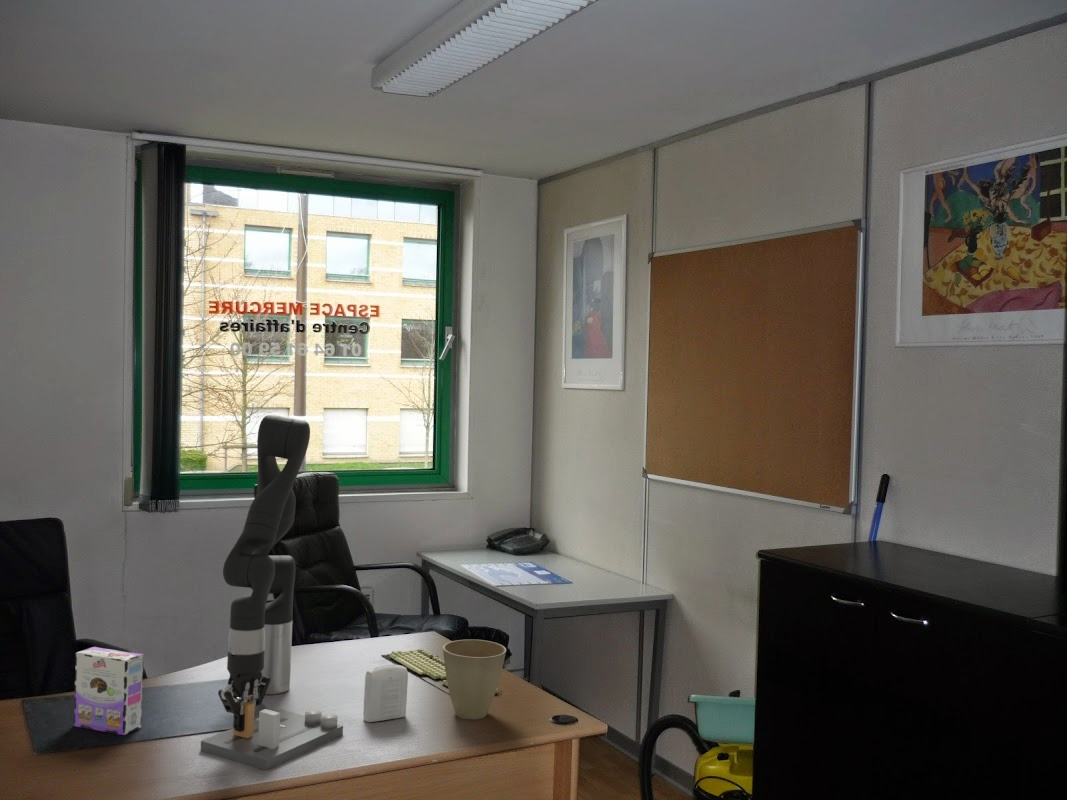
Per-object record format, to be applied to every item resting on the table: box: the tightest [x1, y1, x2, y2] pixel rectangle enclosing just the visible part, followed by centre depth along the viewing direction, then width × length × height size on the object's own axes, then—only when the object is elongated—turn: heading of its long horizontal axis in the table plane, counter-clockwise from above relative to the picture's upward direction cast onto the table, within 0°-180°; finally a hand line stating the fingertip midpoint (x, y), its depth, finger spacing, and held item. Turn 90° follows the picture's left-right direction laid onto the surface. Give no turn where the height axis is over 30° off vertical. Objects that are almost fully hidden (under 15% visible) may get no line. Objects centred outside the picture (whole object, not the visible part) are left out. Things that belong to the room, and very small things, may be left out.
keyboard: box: [380, 648, 503, 696], centre depth 273 cm, size 45×15×2 cm, turn 35°
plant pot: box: [442, 639, 507, 720], centre depth 242 cm, size 15×15×16 cm
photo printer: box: [362, 663, 409, 723], centre depth 237 cm, size 10×4×12 cm, turn 123°
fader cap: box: [232, 701, 255, 738], centre depth 216 cm, size 4×2×7 cm, turn 62°
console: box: [200, 708, 344, 771], centre depth 219 cm, size 18×24×9 cm
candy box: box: [73, 646, 144, 736], centre depth 223 cm, size 14×6×16 cm, turn 71°
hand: (243, 728), depth 216 cm, fingers closed on fader cap, 2 cm apart
